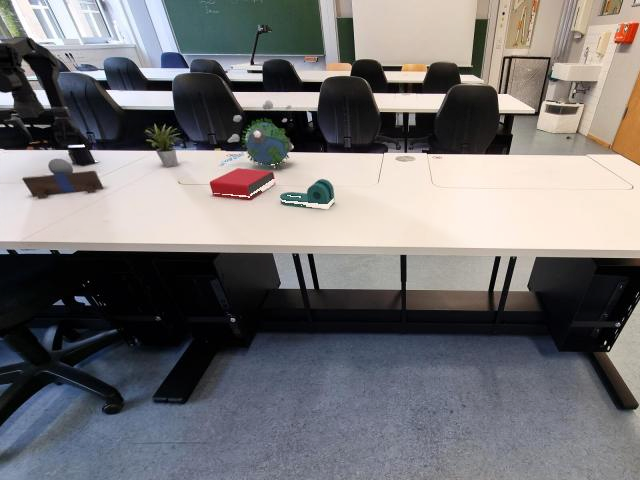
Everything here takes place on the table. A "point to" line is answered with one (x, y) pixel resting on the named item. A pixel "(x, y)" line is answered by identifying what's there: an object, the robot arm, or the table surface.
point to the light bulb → (60, 166)
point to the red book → (241, 183)
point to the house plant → (164, 146)
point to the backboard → (63, 183)
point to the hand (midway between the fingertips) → (49, 140)
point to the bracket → (311, 194)
